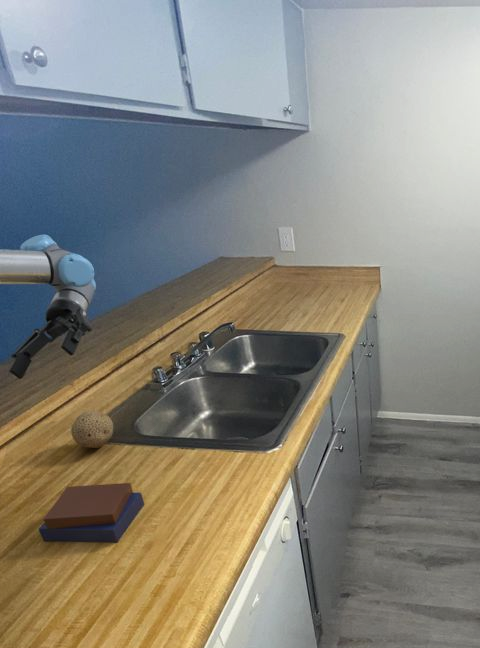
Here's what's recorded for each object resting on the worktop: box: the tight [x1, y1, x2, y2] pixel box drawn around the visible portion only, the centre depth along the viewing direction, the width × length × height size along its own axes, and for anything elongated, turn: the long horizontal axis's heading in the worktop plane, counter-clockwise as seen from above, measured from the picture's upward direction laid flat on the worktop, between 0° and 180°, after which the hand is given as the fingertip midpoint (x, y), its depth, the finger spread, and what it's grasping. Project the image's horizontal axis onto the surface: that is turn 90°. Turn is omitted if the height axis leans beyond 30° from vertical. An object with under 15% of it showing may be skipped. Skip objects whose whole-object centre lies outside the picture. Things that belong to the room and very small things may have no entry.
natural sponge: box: [70, 410, 114, 449], centre depth 116 cm, size 9×9×10 cm
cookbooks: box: [38, 482, 145, 543], centre depth 94 cm, size 14×11×6 cm
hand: (41, 363), depth 107 cm, fingers open, 13 cm apart
